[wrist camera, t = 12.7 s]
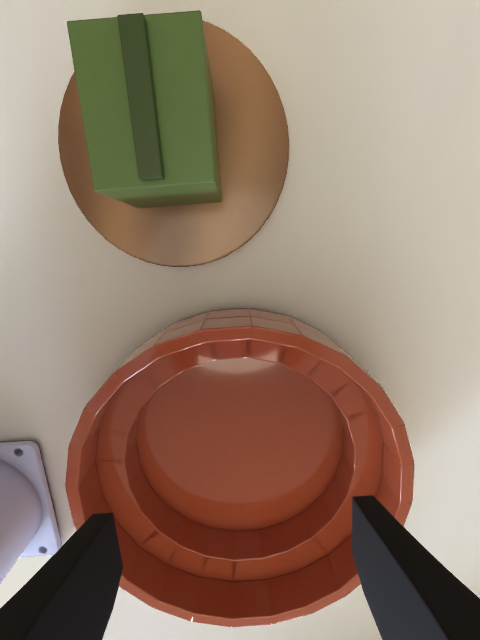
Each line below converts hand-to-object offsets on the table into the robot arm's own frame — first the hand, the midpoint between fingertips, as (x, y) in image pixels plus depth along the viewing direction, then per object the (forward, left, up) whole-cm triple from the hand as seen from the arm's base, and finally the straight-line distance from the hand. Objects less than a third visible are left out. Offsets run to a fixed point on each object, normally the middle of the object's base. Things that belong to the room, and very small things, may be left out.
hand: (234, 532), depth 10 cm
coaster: (-2, +13, -9) cm, 16 cm away
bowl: (0, -3, -9) cm, 10 cm away
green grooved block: (-2, +13, -9) cm, 16 cm away
